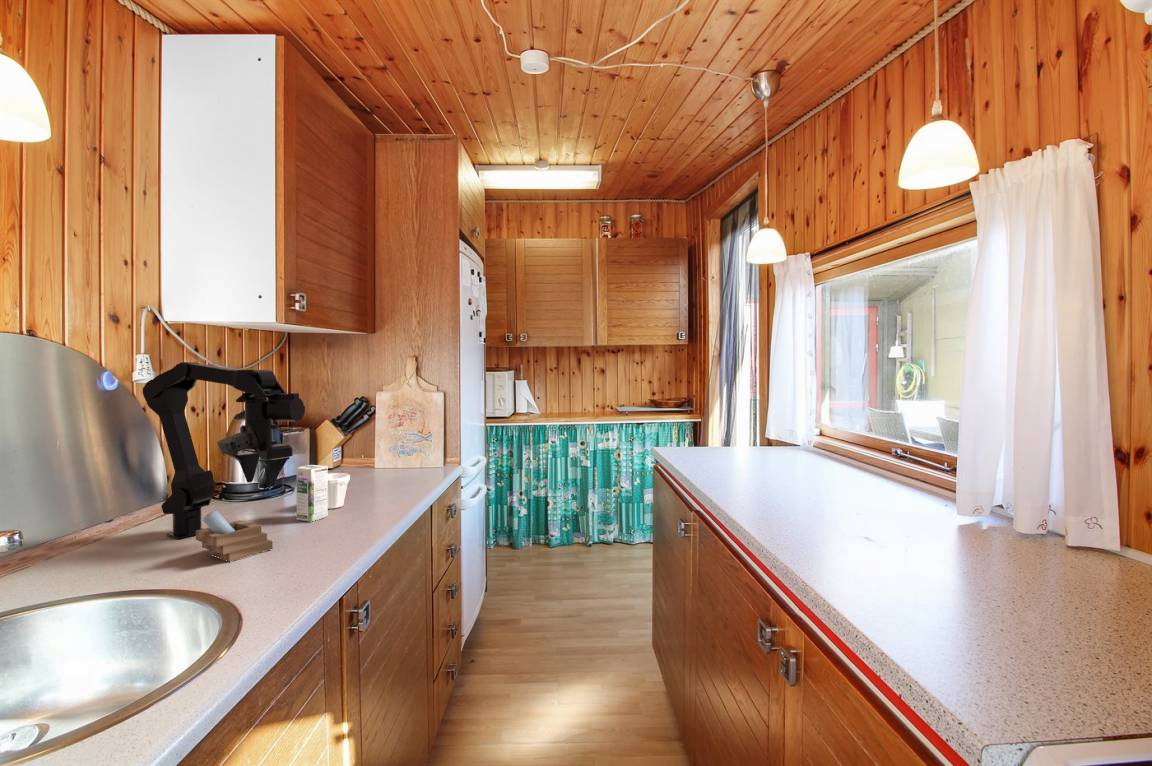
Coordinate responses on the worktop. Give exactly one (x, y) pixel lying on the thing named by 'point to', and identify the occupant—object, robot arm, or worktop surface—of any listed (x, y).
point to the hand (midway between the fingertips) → (259, 484)
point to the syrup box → (312, 492)
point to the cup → (337, 489)
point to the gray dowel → (217, 523)
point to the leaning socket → (235, 541)
